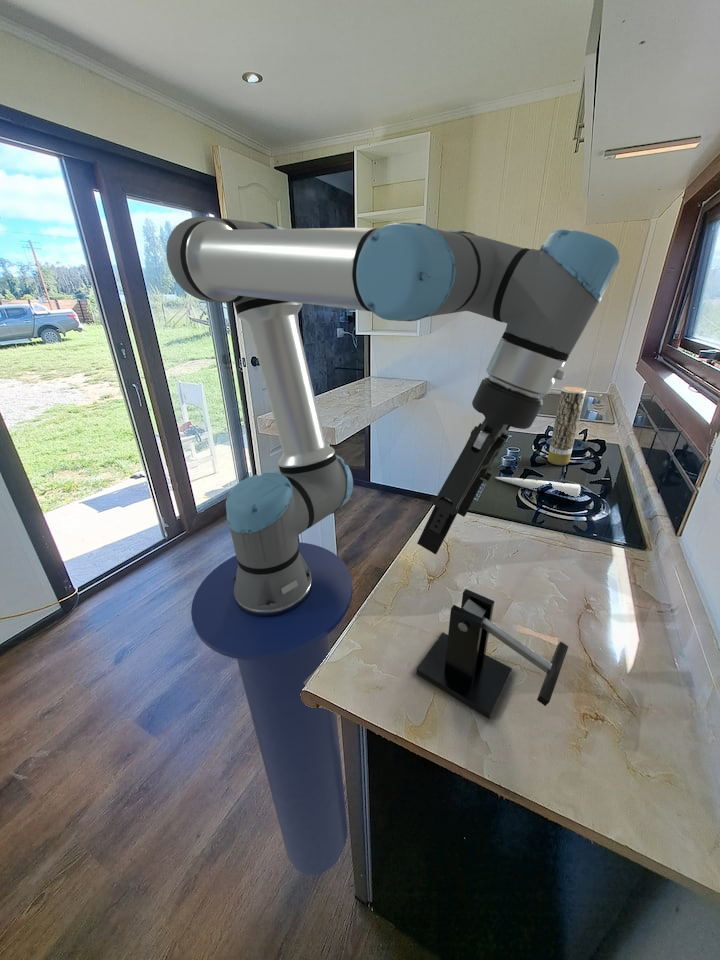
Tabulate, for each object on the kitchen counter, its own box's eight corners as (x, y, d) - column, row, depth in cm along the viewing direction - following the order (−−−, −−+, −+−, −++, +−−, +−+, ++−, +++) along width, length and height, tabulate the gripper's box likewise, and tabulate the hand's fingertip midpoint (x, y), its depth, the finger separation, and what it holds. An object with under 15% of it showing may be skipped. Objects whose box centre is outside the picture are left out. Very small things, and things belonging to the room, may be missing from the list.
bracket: (510, 673, 61) (526, 604, 54) (489, 719, 54) (504, 647, 48) (442, 637, 67) (448, 571, 61) (416, 674, 61) (419, 605, 54)
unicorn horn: (500, 474, 123) (502, 461, 121) (580, 498, 109) (584, 483, 107) (493, 480, 120) (495, 466, 118) (574, 504, 106) (578, 489, 103)
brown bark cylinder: (557, 456, 135) (573, 385, 123) (573, 464, 129) (591, 390, 118) (542, 460, 133) (556, 388, 121) (557, 467, 127) (574, 392, 116)
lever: (562, 652, 54) (571, 643, 52) (542, 709, 47) (552, 700, 45) (474, 593, 60) (479, 583, 58) (444, 635, 53) (450, 625, 51)
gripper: (533, 412, 33) (439, 586, 43) (553, 390, 54) (486, 511, 64) (456, 380, 36) (383, 551, 46) (503, 371, 57) (446, 490, 66)
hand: (443, 528), depth 55 cm, fingers open, 13 cm apart
